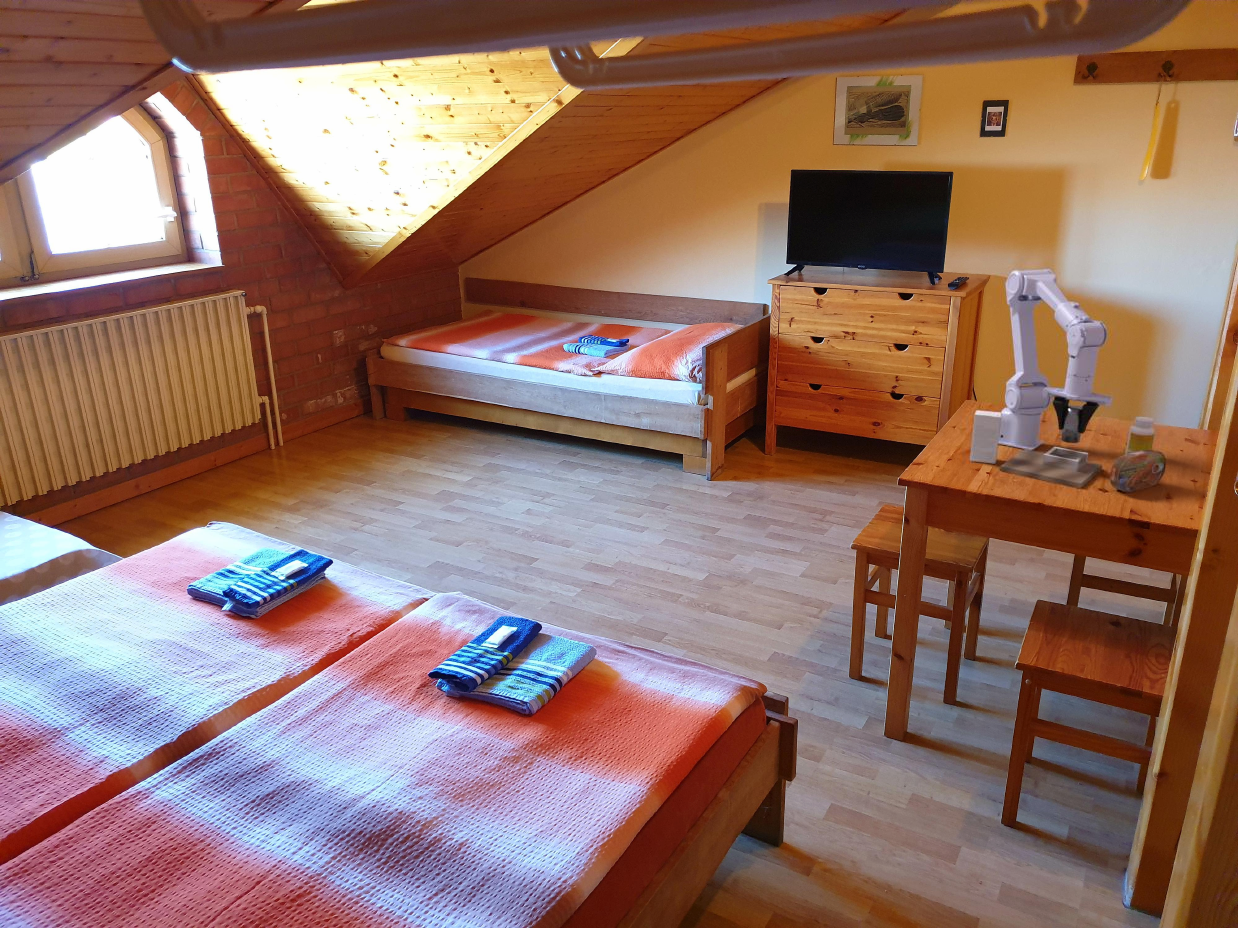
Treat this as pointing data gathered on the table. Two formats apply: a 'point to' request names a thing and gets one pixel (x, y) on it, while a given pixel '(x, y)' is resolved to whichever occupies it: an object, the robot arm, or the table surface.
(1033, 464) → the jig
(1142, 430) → the supplement bottle
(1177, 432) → the table surface
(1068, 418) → the grey metal cylinder
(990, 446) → the skincare box
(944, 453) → the table surface
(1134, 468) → the tin
